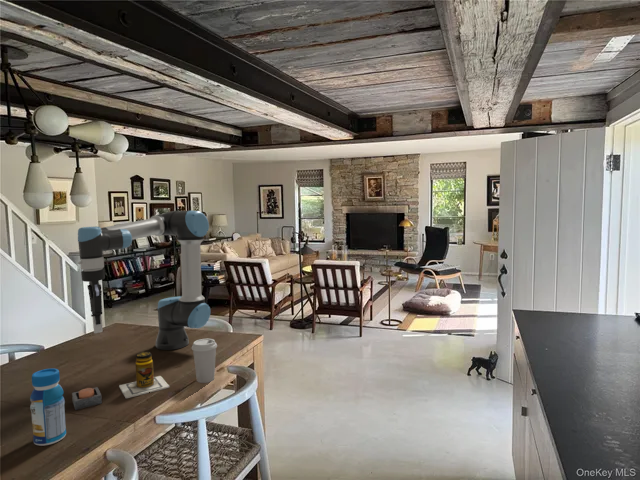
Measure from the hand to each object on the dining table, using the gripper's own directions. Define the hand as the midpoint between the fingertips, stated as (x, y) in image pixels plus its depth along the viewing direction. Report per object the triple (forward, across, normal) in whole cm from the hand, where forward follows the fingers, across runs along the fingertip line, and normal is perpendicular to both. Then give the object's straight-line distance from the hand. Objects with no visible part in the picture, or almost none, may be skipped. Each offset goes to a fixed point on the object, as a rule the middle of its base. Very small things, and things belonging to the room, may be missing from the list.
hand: (98, 332), depth 160 cm
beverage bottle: (+20, +31, -19) cm, 42 cm away
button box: (+21, +11, -7) cm, 25 cm away
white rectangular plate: (+21, +10, +12) cm, 27 cm away
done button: (+20, +11, -7) cm, 23 cm away
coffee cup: (+22, +18, +33) cm, 43 cm away
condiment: (+21, +10, +12) cm, 26 cm away
